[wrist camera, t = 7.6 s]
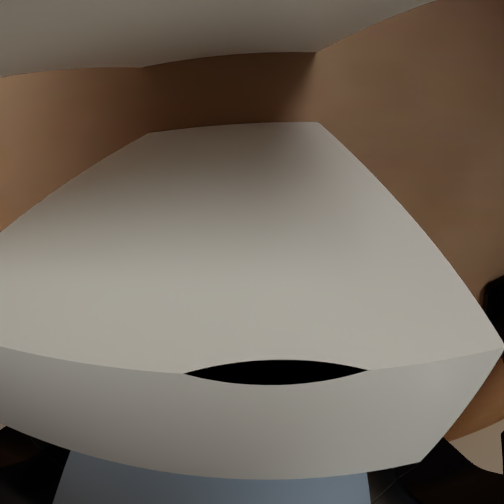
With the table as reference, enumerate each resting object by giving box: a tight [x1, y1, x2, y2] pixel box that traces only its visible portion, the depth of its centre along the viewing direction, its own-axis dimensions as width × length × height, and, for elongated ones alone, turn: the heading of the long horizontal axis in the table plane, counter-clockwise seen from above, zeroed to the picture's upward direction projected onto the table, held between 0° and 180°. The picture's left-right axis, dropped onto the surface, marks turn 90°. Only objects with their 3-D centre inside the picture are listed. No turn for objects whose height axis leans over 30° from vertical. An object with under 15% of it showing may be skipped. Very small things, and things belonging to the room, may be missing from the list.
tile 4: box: [0, 122, 504, 480], centre depth 7 cm, size 2×6×10 cm, turn 93°
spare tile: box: [53, 450, 371, 504], centre depth 8 cm, size 2×6×10 cm, turn 93°
